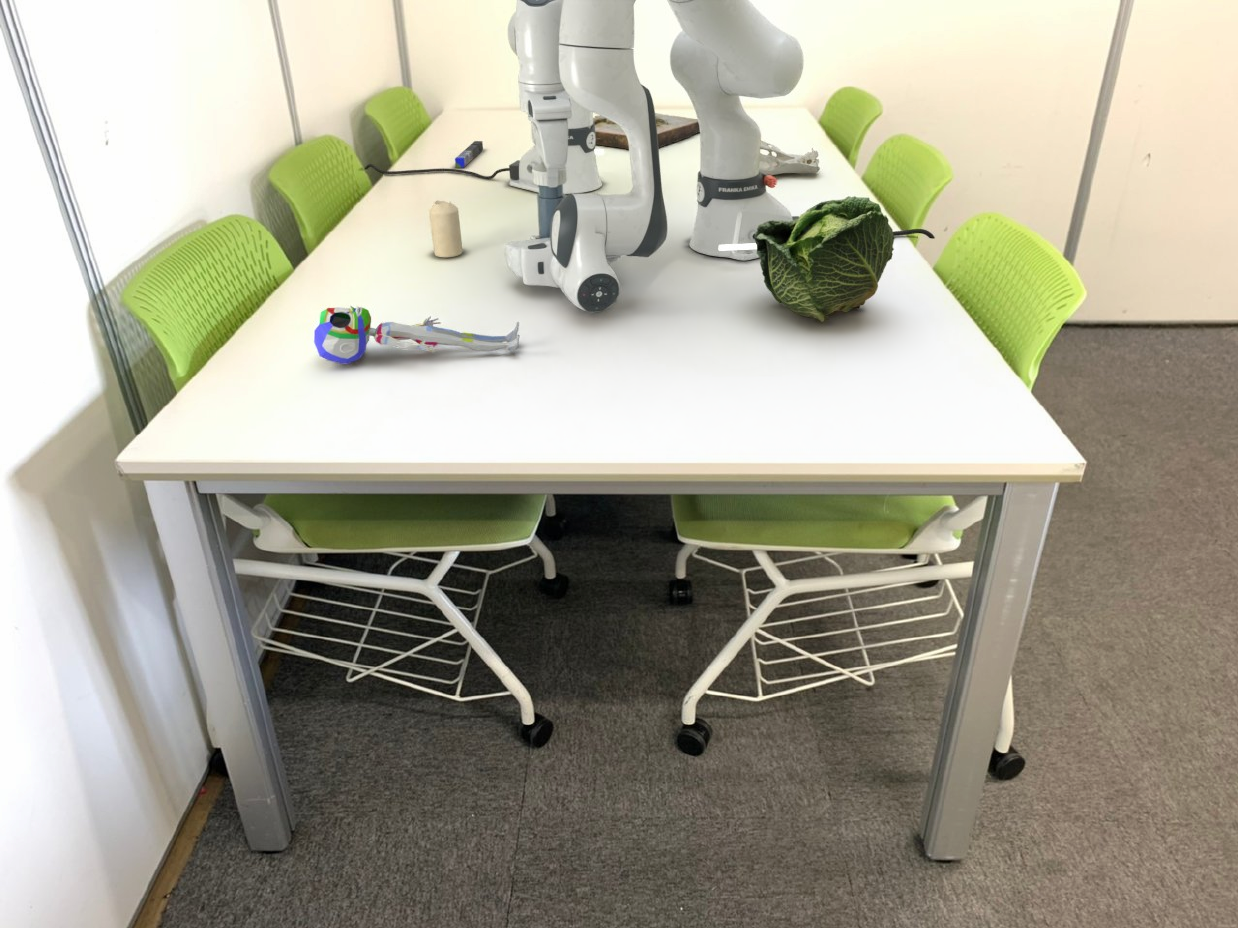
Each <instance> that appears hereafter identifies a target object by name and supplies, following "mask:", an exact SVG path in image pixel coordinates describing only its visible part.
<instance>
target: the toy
mask: <svg viewBox="0 0 1238 928" xmlns="http://www.w3.org/2000/svg"><path fill="white" fill-rule="evenodd" d="M349 307H350V308H349ZM349 307H327V308H325V309H324V310H322V311H321V312H320V314H319V317H318V319H317V321H316V322H315V323H316V324H315V326H314V327H313V331H312V335H313V336H312V343H313V345H314V346H315V347H314V348H316V350H317V353H318V355H319V357H321V358H323V359H325V360H326V361H329V362H333V363H336V364H344V365H348V364H350V363H353V362H355V361H358V360H360V359H361V358H362V356H363V355H364V353H365V352H366V351H367V345H368V343H369V342H370V337H373V339H374V341H375V343H377V344H379V345H383V346H384V345H386V346H390V347H394V348H398V349H400V350H405V351H414V350H421V351H422V350H423V351H427V352H430V353H435V351H437V349H436V348H434V347H436V346H438V345H439V346H454V347H462V348H468V349H471V350H475V351H477V352H481V351H482V352H490V351H500V350H505V349H506V350H507V351H510V352H512V353H515V352H516V350H517V349H518V347H519V343H520V335H519V334H518V332H519V327H520V322H519V321H517V322H516V326H515V327H514V330H512V331H511V332H510V333H508V334H506V335H485V334H478V333H472V332H471V333H470V332H460V331H457V330H453V329H449V328H443V327H438V326H434V325H440V324H442V322H440V321H439V322H437V321H438V320H439V318H434V319H431V318H432V317H431V316H430V315H429V317H428V318H425V319H424V321H423V322H422V323H415V324H412V325H410V324H405V323H398V322H396V321H395V322H394V321H386V322H380V324H378V325H377V327H376V328H375V327H372V326H371V325H372V316H371V313H370V311H369V309H366V308H365V307H362V306H356V307H353V306H352V305H349ZM430 319H431V320H430ZM435 321H436V322H435ZM404 340H412V341H414V342H416V343H413V342H409V341H404Z"/></svg>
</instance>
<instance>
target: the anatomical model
mask: <svg viewBox="0 0 1238 928" xmlns="http://www.w3.org/2000/svg"><path fill="white" fill-rule="evenodd" d="M760 150H764V151H767V152H768V154H763V153H761V152H760V162H759V171H760V172H762V173H763V174H765V175H771V176H775V175H780V174H793V173H794V174H807V175H808V174H814V173H818V172H819V171H820V170H821V167H820V166H819V164H820V159H819V158H818V157H819V152H818V150H814V147H811V152H810V151H807V152H806V153H805V154H793V153H787V152H784V151H782V150H781V149H780V148H779V147H777V146H776V145H774V144H771V143H769V142H766V141H765V140H761V147H760ZM773 153H775V154H776V156H775V155H773Z"/></svg>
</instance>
